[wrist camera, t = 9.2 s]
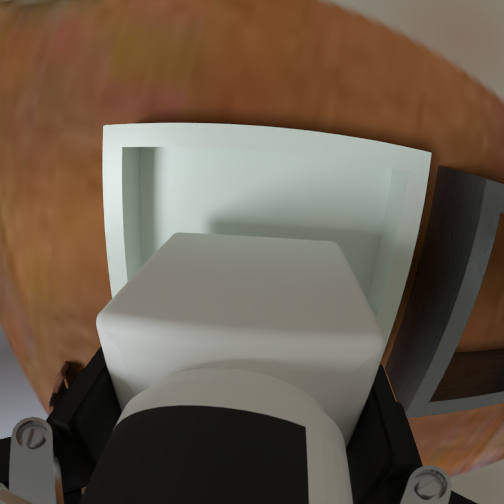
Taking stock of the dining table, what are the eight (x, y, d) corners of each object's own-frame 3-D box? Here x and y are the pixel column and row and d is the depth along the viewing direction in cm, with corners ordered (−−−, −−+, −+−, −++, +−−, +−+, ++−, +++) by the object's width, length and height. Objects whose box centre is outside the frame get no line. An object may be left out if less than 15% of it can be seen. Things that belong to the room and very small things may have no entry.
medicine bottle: (182, 359, 16) (104, 570, 5) (172, 229, 14) (-31, 464, 2) (317, 369, 16) (336, 598, 4) (339, 239, 13) (467, 536, 2)
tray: (407, 148, 14) (431, 152, 11) (347, 394, 20) (353, 424, 17) (130, 125, 15) (103, 125, 12) (145, 373, 20) (132, 400, 18)
